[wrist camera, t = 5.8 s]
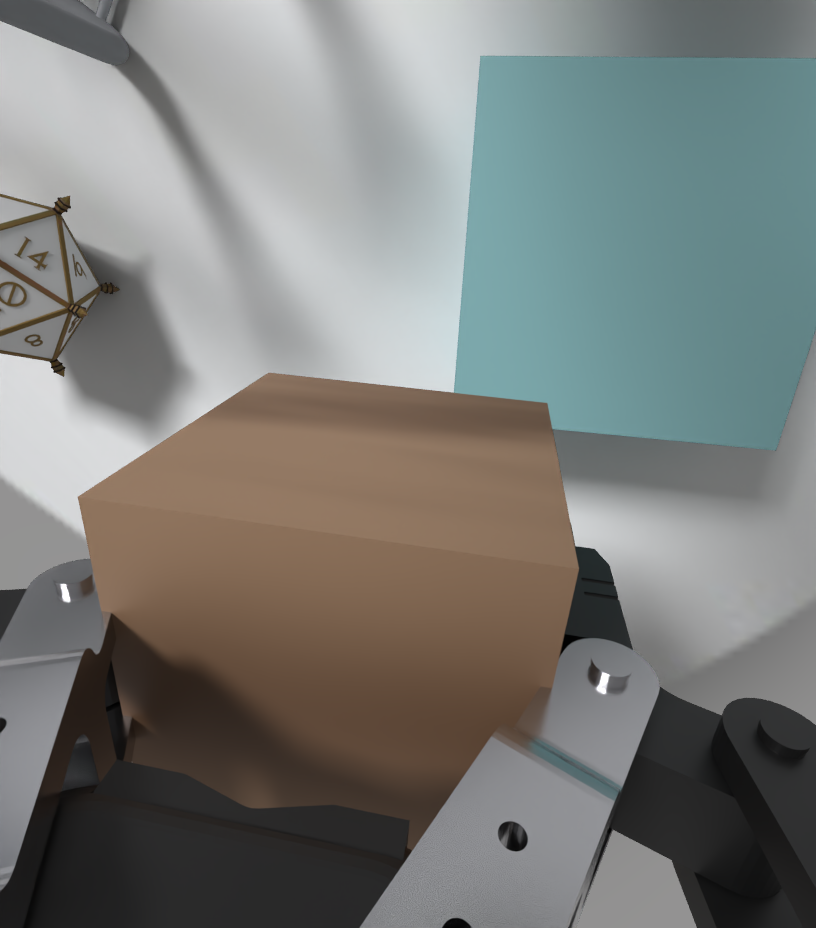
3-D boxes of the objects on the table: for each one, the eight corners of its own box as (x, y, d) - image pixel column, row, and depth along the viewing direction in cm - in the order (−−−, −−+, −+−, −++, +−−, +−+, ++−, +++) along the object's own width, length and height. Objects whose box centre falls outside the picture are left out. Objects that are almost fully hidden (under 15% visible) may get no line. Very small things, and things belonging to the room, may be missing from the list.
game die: (117, 231, 32) (69, 119, 22) (140, 381, 32) (101, 333, 22) (-75, 234, 29) (-224, 107, 19) (-50, 398, 29) (-187, 352, 19)
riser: (488, 96, 23) (480, 55, 18) (804, 101, 21) (904, 59, 16) (463, 381, 28) (451, 419, 22) (721, 403, 26) (776, 450, 21)
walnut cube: (268, 372, 12) (76, 496, 7) (547, 403, 12) (578, 569, 6) (278, 595, 15) (143, 815, 9) (507, 632, 14) (505, 894, 9)
